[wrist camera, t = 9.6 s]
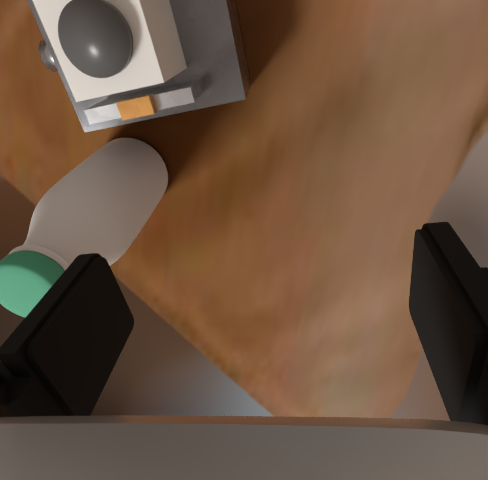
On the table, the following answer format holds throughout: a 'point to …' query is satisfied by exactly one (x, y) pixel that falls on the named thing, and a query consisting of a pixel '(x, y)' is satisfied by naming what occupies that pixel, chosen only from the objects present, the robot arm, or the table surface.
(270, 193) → the table surface
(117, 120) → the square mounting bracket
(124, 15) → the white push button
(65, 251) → the milk bottle
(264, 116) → the table surface
